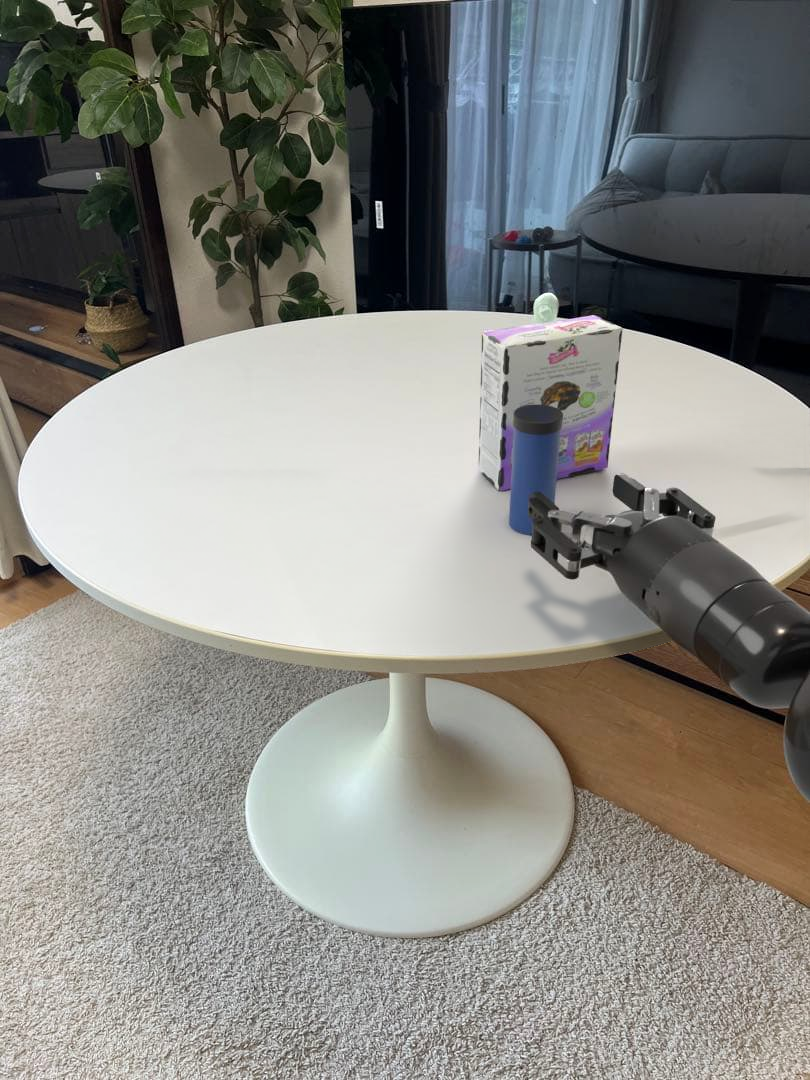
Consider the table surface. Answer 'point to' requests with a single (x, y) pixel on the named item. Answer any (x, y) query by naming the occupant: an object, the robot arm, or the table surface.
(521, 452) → the blue cylindrical container
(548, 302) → the robot head
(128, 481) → the table surface
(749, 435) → the table surface
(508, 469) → the candy box
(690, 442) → the table surface
